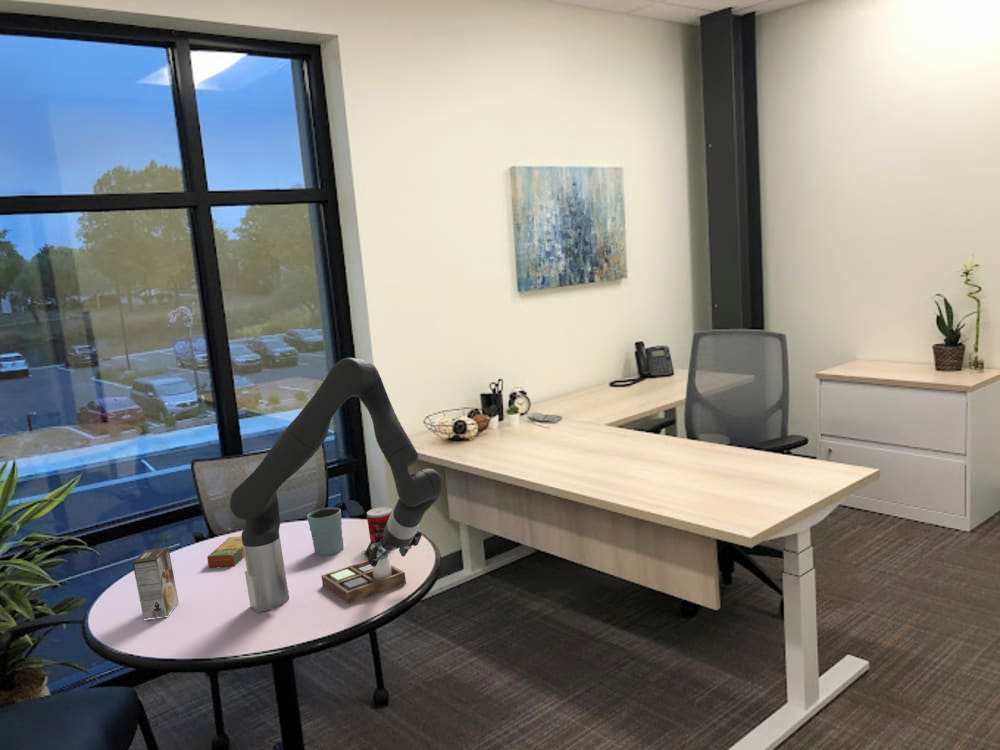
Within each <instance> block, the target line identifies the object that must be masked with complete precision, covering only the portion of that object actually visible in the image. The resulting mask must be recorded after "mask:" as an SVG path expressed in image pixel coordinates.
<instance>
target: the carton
mask: <svg viewBox="0 0 1000 750" xmlns="http://www.w3.org/2000/svg"><path fill="white" fill-rule="evenodd" d="M206 559H207V565H208V569H218V568H217V567H220V568H228V567H229V568H230V567H232V566H233V567H236V566H237V565H238V564H239V563H241V561H242V560H243V559H245V556H244V549H243V544H242V537H241V535H240V536H232V537H231V536H230V537H228V538H227V539H226V540H225V541H223V542H222V543H221V544H220V545H219V546H218V547H217V548H216V549H214V550H213V551H212V552H211V553H210V554H208V555H207V558H206ZM236 564H237V565H236Z"/></svg>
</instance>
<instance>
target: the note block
mask: <svg viewBox="0 0 1000 750" xmlns="http://www.w3.org/2000/svg"><path fill="white" fill-rule="evenodd" d="M354 576H356V574H355V573H353V572H351V571H350V570H348V569H346V570H343V571H340V572H337V573H334V574H331V575H330V577H331V580H333V581H334V582H339V581H342V580H345V579H348V578H351V577H354Z"/></svg>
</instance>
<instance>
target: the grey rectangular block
mask: <svg viewBox="0 0 1000 750" xmlns="http://www.w3.org/2000/svg"><path fill="white" fill-rule="evenodd" d="M358 569H359V571H361V572H362V573H365V572H368V571H371V570H373V569H372V566H371V564H370V565H367V566H364V567H361V568H358Z"/></svg>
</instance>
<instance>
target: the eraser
mask: <svg viewBox="0 0 1000 750" xmlns="http://www.w3.org/2000/svg"><path fill="white" fill-rule="evenodd" d="M367 584H368V581H366V580H365V579H363V578H361V577H360V578H357V579H354V580H351V581H349V582H346V583H343V585H344V588H345V589H347V590H348V591H350V590H353V589H355V588H358V587H361V586H364V585H367Z"/></svg>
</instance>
